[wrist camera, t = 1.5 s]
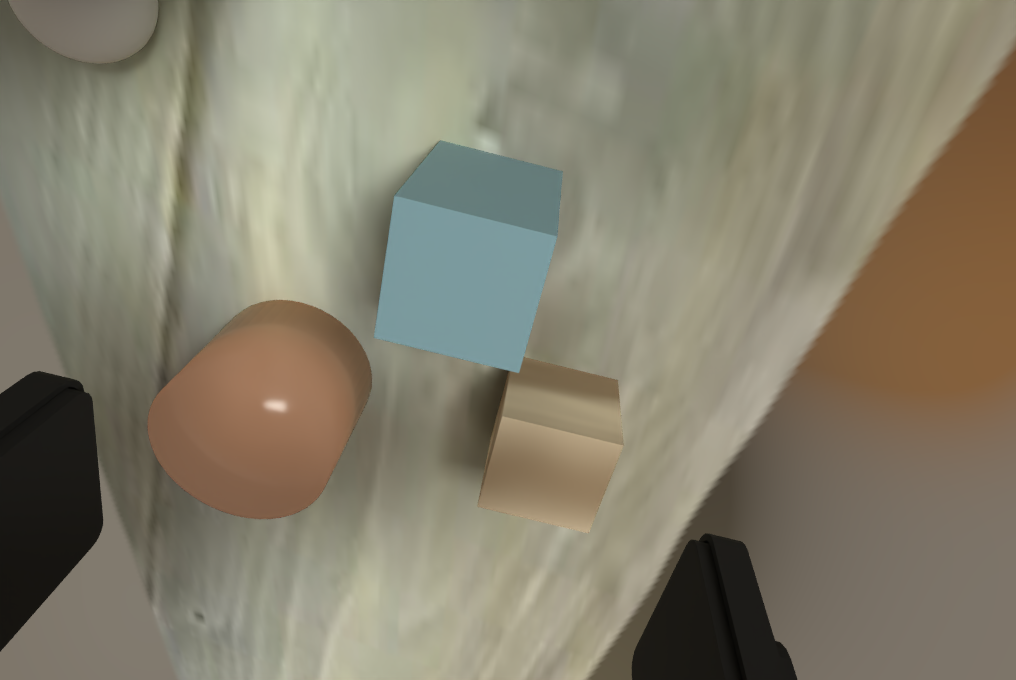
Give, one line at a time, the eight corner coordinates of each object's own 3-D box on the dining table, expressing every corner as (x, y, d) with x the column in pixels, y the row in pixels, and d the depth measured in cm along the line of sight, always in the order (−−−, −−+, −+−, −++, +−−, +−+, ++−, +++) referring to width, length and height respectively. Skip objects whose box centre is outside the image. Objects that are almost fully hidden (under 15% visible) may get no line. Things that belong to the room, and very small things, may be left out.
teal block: (440, 140, 21) (394, 195, 16) (562, 170, 21) (557, 236, 16) (420, 254, 23) (373, 337, 18) (532, 282, 23) (518, 373, 18)
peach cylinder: (221, 282, 24) (142, 349, 20) (381, 321, 24) (338, 397, 20) (220, 411, 27) (151, 495, 23) (362, 446, 27) (321, 535, 23)
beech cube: (513, 353, 25) (502, 416, 21) (617, 378, 25) (623, 445, 21) (490, 436, 27) (477, 506, 23) (587, 459, 27) (588, 533, 23)
